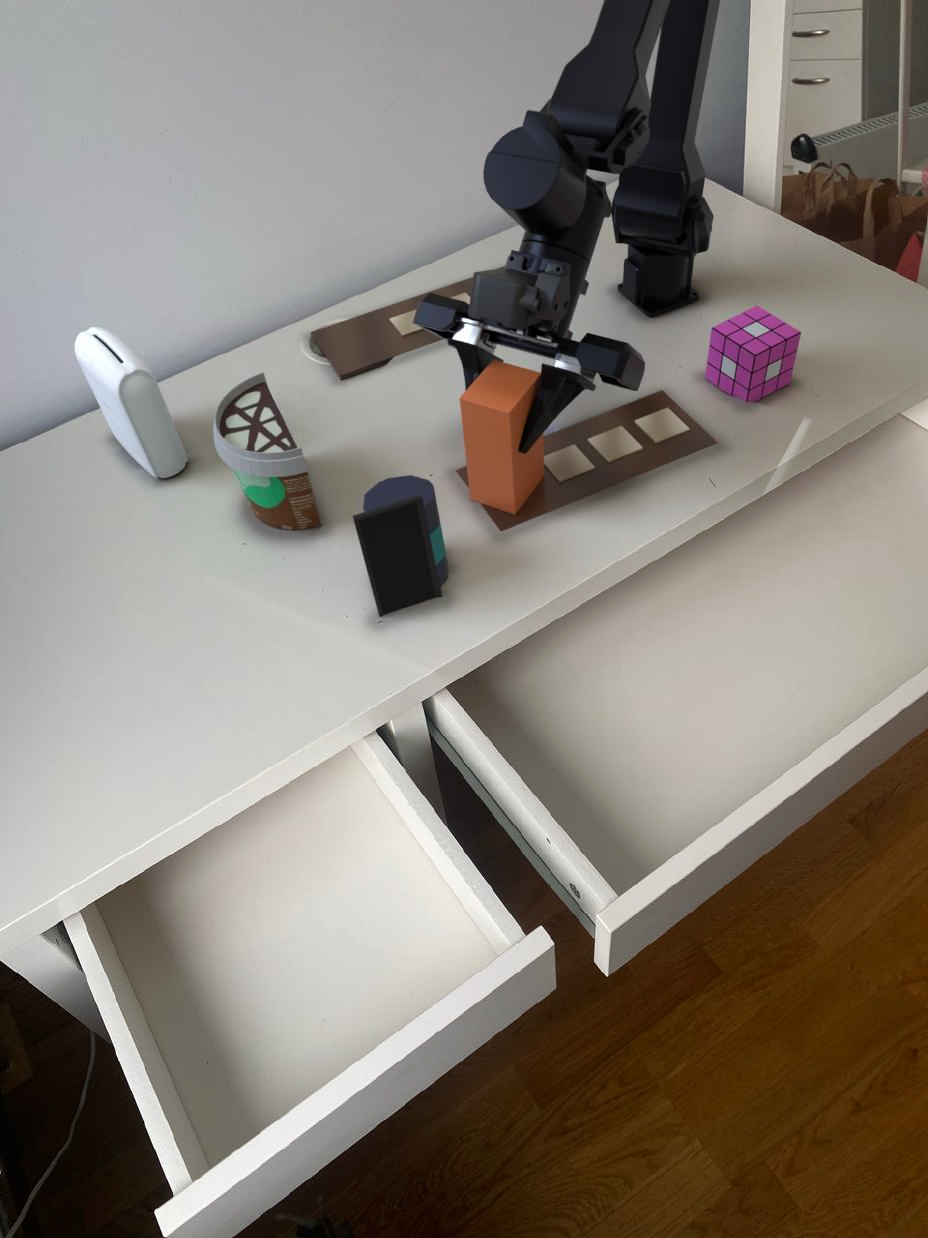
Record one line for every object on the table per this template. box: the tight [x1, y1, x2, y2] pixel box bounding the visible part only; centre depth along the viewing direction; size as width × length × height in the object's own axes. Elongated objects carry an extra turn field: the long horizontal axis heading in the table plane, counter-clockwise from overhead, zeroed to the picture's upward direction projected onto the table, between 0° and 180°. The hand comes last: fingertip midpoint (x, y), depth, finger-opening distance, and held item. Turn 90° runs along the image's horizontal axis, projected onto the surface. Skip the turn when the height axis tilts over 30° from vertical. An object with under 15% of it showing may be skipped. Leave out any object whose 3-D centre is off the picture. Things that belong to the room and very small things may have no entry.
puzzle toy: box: [704, 305, 802, 403], centre depth 88 cm, size 6×6×6 cm
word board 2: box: [455, 389, 719, 532], centre depth 85 cm, size 22×9×1 cm, turn 116°
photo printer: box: [74, 326, 189, 479], centre depth 87 cm, size 10×4×12 cm, turn 39°
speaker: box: [352, 474, 449, 618], centre depth 74 cm, size 8×6×10 cm
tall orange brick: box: [459, 360, 544, 515], centre depth 79 cm, size 6×4×11 cm
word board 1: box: [310, 265, 505, 381], centre depth 101 cm, size 24×9×1 cm, turn 116°
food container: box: [213, 371, 322, 532], centre depth 81 cm, size 12×6×10 cm, turn 23°
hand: (495, 444), depth 78 cm, fingers closed on tall orange brick, 4 cm apart
